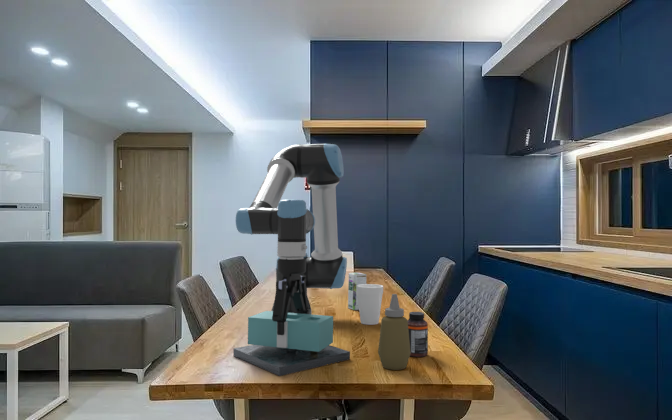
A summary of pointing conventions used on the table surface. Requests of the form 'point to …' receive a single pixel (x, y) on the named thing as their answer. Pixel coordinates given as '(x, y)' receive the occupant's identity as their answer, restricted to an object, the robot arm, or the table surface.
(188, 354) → the table surface
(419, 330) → the supplement bottle
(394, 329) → the squeeze bottle
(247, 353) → the base
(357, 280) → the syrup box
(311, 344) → the teal block with holes
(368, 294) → the foam cup
